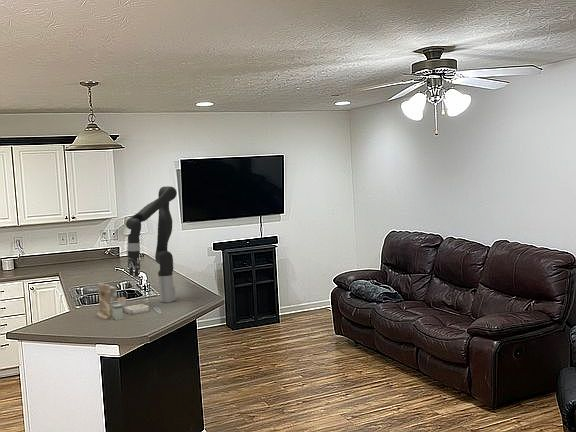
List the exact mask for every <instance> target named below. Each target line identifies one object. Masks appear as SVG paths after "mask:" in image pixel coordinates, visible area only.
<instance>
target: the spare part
mask: <svg viewBox="0 0 576 432" xmlns="http://www.w3.org/2000/svg"><path fill="white" fill-rule="evenodd" d="M116 302H117V305H118V304H120V305H122V312H124V307H127V297H125V296H122V297H117V301H116Z"/></svg>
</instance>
